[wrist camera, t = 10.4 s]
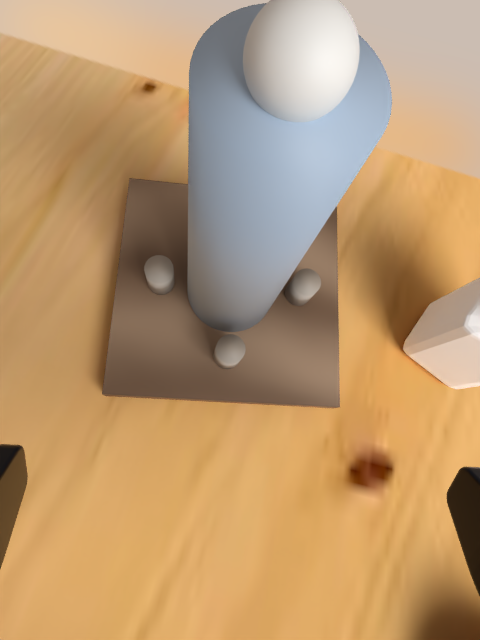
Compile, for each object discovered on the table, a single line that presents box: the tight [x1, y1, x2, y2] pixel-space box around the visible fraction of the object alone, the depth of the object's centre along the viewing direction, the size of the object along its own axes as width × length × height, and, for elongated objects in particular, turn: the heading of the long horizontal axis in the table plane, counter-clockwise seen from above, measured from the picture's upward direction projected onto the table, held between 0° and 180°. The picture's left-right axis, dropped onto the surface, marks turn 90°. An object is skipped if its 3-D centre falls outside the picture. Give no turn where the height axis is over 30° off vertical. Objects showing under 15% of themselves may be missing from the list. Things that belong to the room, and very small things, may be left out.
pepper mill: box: [187, 0, 392, 332], centre depth 15 cm, size 5×5×16 cm
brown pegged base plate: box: [102, 178, 340, 408], centre depth 22 cm, size 12×12×3 cm
